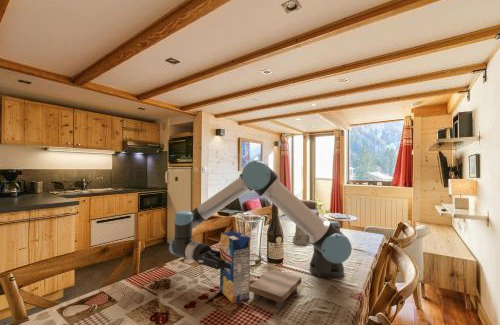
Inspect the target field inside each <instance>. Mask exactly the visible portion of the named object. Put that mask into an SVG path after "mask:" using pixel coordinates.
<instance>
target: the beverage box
mask: <svg viewBox="0 0 500 325" xmlns="http://www.w3.org/2000/svg"><path fill="white" fill-rule="evenodd" d="M220 248H221V258H220V259H222V260H224V261H226V260H227V261H229V264H230V265H231V269H227V268H225V270H222V268H220V269H219V270H220V273H219V275H220V276H219V290H220V292H221V293H222V294H223V295H224V296H225V297H226V298H227V299H228V301H230V302H231V303H232V304H236V303H239V302H242V301H245V300H248V299H250V291H249V286H250V285H251V284H250V282H251V281H250V280H251V278H250V277H251V276H250V275H251V271H250V270H251V267H250V266H251V237H250V236H248V235H246V234H245V233H242V232H240V231H238V230H231V231H225V232H220ZM237 264H241V272H237Z"/></svg>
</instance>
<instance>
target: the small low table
mask: <svg viewBox="0 0 500 325" xmlns="http://www.w3.org/2000/svg"><path fill="white" fill-rule="evenodd" d="M301 284H302V277H301V276H297V275H294V274H291V273H286V272H283V271H280V270H275V269H272V268H271V269H270V270H269V271H268V272H266V273H264V274H263V275H261V277H259V278H258V279H257V280H255V281H254V282H252V283H251V284H250V286H249V293H253V299H254V301H260V298H261V297H260V296H262V297H264V298H267V299H269V300H273V301H275V304H276V307H275V308H276V309H279V310H281V309H283V303H284V301H285V300H287V298H288V297H290V295H291V294H292V293H297V292H298V287H299V286H300V285H301Z"/></svg>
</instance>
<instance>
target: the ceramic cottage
mask: <svg viewBox="0 0 500 325" xmlns="http://www.w3.org/2000/svg"><path fill="white" fill-rule="evenodd" d="M292 242H293V244H294V245H298V246H299V245H300V246H308V245H312V244H311V243H310V240H309V236H308V235H307V234H306V233H305V232H304V231H303V230H302V229H300V228H299V227H298V226H297V225H296V224H295V232H294V235H293V237H292Z"/></svg>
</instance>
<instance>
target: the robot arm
mask: <svg viewBox="0 0 500 325" xmlns="http://www.w3.org/2000/svg"><path fill="white" fill-rule="evenodd" d="M252 191H254V192H255V193H256V194H257V195H258V196H259V197H260V198H267V200H268V201H270V202H271V203H272V205H274V206H275V207H276V208H278V209H279V210H280V211H281V212H282V214H284V215H285V216H286V217H287V218H288V219H289V220H290V221H292V222H293V223H294V224H295V226H296V225H297V226H298V227H299V228H300V229H302V230H303V231H304V232H305V233H306V234H307V235H308V236H309V240H310V243H311V244H310V245H312V246H313V254H312V256H311V259H310V262H309V271H310V272H311V273H312V274H314V275H316V276H319V277H323V278H326V279H327V278H328V279H336V278H338V279H339V278H340V277H343V276H344V275H345V267H344V264H343V263H344V262H346V261H347V260H348V259H349V258H350V256H351V255H352V251H353V250H352V248H353V247H352V243H351V241H350V239H349V238H348V237H347V236H346V235H345V234H344V233H343V232H342V231H341V223H340V222H339V221H336V220H335V221H334V220H323V219H322V218H320V216H318V215H317V214H316V213H315V212H314V211H312V209H310V208H309V207H308V205H306V204H305V203H304V202H303V201H302V200H301V199H299V197H297V196H296V195H294V193H293V192H292V191H290V190H289V189H288V188H287V187H286V186H285V185H284V184H283V183H282V182H281V180H280V176H279V175H278V174H277V173H276V172H275V171H273V169H272V168H270V167H269V165H268V164H267V163H265V162H264V161H262V160H258V159H257V160H251V161H249V162H247V163H246V164H245V166H244V167H243V169H242V171H241V173H240V174H239V177H238V178H236V179H235V180H233V181H232V182H231V183H229V184H228V185H227V186H225V187H223V189H221V190H219V191H217V193H215V194H214V195H213V196H211V197H209V198H208V199H207V200H205V201H204V202H202V203H201V204H199V205H197V207H195V208H194V209H192V210H181V211H177V212H175V213H174V214H175V215H174V220H173V221H174V238H172V239H171V240H170V242H169V245H168V251H169V252H170V254H172V255H175V256H176V257H179V258H184V259H186V260H190V261H192V262H195V263H198V265H201V266H206V267H209V268H212V269H213V270H217V271H219V270H220V268H222V270H225V268H227V269H231V265H230V264H229V261H227V260H226V261H224V260H222V259H220V258H221V247H220V248H219V250H216V249H213V248H212V247H211V246H210V245H209V244H207V243H202V242H199V241H195V240H193V230H194V229H195V228H196V227H198V226H199V225H201V224H202V223H203V222H205V221H206V220H208V219H209V218H210V217H212V216H213V215H215V214H216V213H218V212H219V211H221V210H222V209H223V208H224V207H226V206H228V205H229V204H231V203H232V202H233V201H235V200H236V199H238V198H240V197H241V196H243V195H244V194H246V193H248V192H252ZM237 272H241V264H237Z"/></svg>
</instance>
